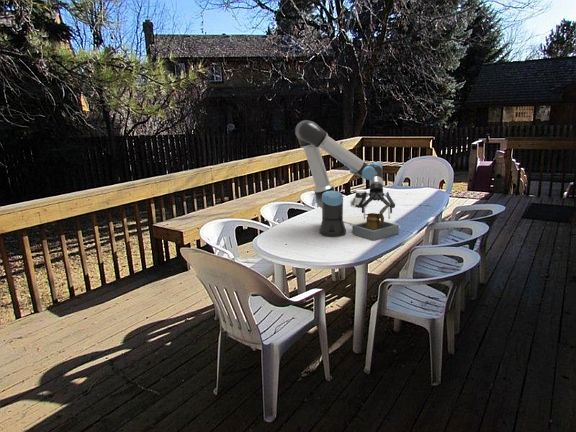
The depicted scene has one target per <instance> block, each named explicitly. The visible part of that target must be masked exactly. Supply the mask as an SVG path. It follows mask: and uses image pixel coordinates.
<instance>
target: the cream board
mask: <svg viewBox="0 0 576 432" xmlns="http://www.w3.org/2000/svg"><path fill="white" fill-rule="evenodd" d="M366 218H367V216H365V219H364V215H360V214H352V215H351V214H350V215H346V216H343V222H344V224H345V223H346V224H349V225H352V226H353V225H357V224H361V223H365V222H367V219H366Z"/></svg>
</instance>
